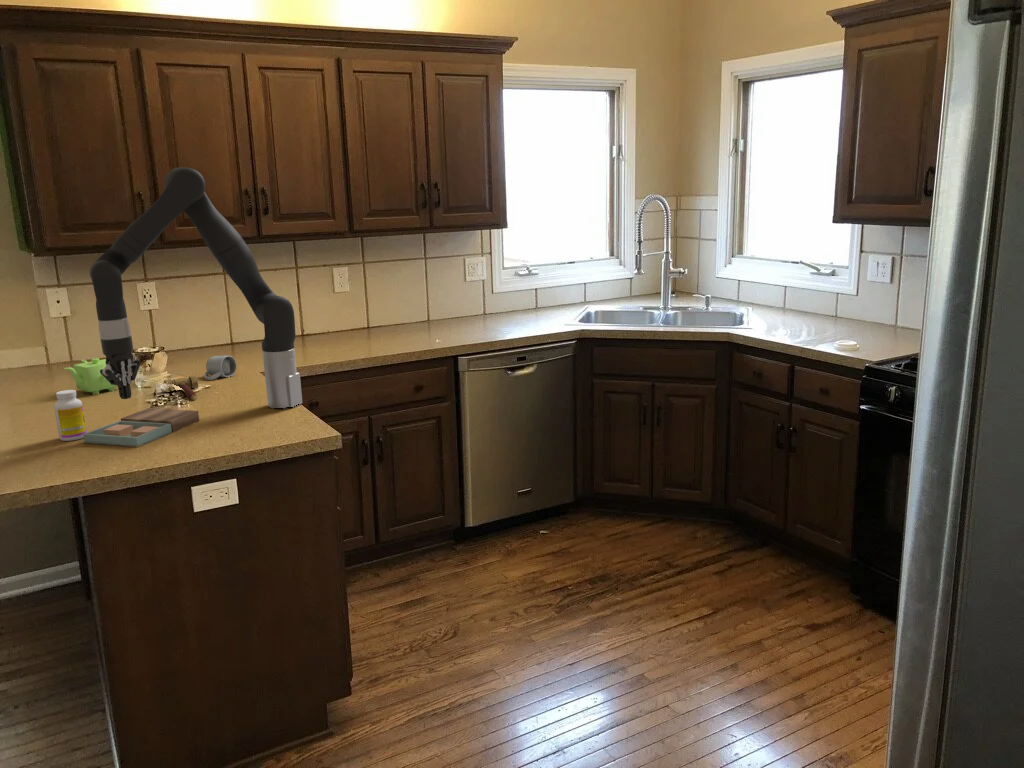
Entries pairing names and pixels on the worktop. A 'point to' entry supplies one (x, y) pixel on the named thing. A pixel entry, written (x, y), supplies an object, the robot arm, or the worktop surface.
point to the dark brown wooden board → (165, 417)
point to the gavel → (186, 385)
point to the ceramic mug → (220, 367)
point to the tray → (101, 438)
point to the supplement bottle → (69, 416)
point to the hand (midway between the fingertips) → (126, 398)
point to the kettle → (90, 376)
